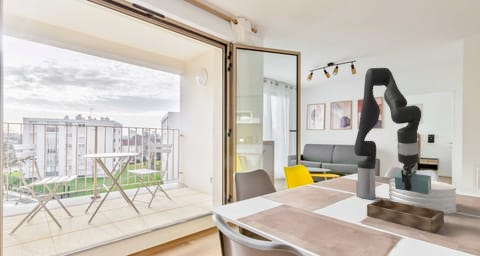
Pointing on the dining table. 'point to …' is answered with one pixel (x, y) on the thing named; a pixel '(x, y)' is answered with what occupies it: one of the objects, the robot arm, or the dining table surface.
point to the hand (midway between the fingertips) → (410, 186)
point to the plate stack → (427, 197)
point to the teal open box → (415, 183)
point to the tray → (406, 215)
